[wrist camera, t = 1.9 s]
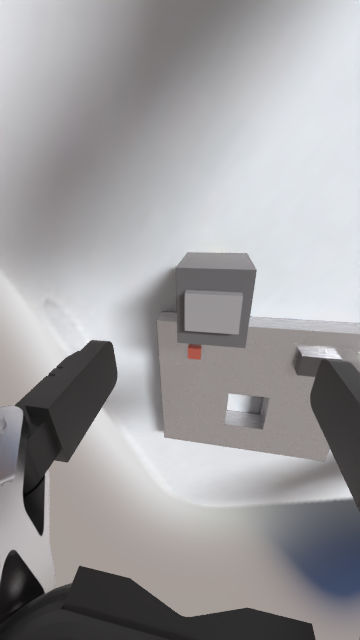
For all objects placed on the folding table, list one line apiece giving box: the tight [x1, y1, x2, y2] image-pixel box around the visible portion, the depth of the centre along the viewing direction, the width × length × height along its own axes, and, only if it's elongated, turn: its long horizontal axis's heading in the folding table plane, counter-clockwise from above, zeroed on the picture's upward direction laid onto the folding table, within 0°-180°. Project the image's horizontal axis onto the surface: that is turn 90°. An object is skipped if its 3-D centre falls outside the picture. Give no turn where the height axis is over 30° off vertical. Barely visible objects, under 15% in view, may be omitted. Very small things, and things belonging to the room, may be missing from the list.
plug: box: [176, 252, 256, 348], centre depth 16 cm, size 5×4×8 cm
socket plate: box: [157, 312, 360, 461], centre depth 23 cm, size 16×18×3 cm
